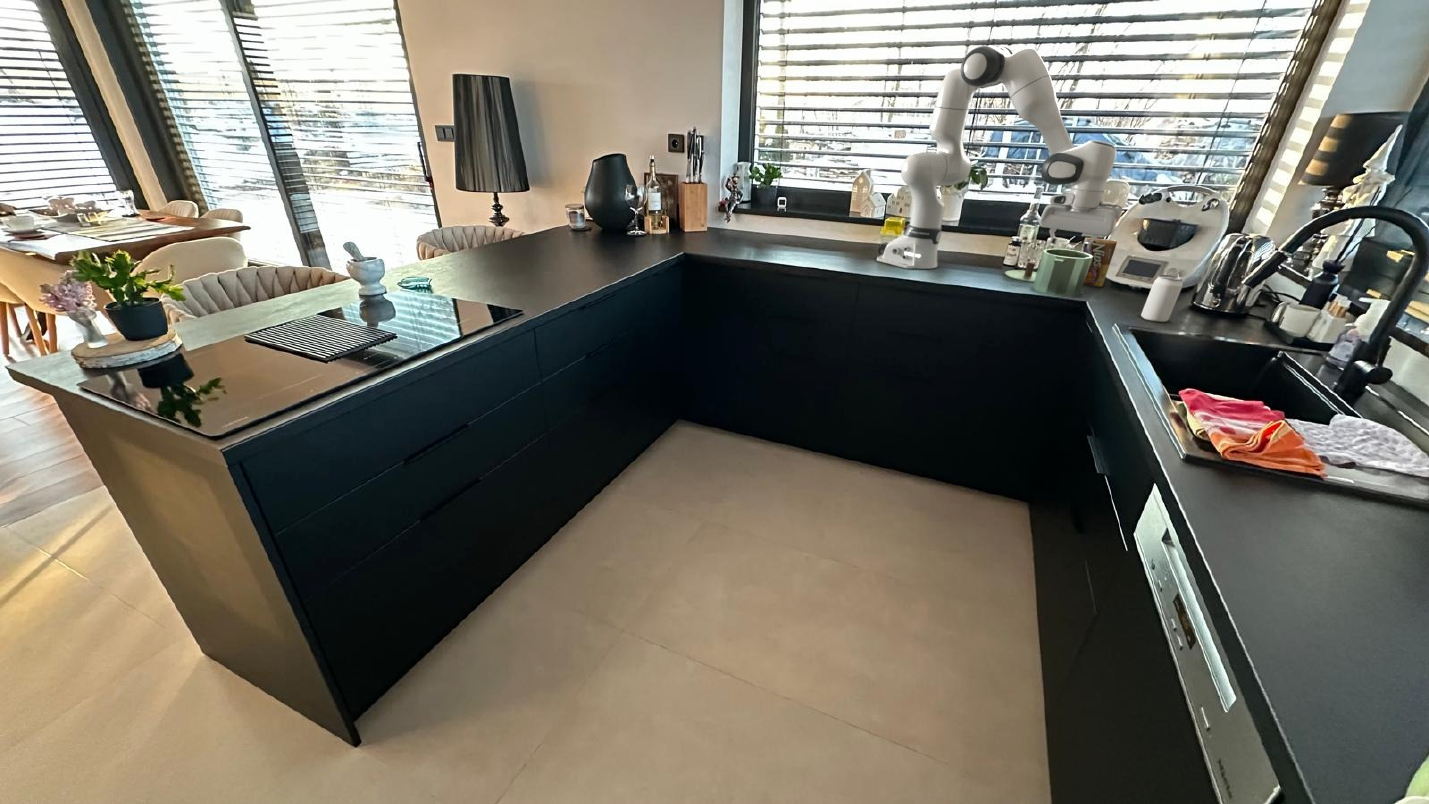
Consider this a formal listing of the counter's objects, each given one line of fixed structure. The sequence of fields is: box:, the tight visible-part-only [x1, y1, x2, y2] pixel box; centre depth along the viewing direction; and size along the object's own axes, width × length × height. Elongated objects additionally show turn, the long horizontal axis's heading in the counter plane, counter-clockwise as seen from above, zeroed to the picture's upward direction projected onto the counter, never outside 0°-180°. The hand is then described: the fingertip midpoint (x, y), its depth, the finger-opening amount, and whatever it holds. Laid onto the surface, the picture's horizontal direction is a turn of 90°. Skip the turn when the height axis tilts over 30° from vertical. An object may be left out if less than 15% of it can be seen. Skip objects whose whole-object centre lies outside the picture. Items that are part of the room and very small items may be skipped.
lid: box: [1004, 261, 1037, 283], centre depth 195 cm, size 15×15×6 cm
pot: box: [1032, 248, 1093, 298], centre depth 179 cm, size 14×19×12 cm
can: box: [1140, 274, 1184, 323], centre depth 156 cm, size 6×6×12 cm
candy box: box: [1080, 237, 1118, 287], centre depth 187 cm, size 9×4×15 cm, turn 65°
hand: (1069, 245), depth 175 cm, fingers open, 8 cm apart
